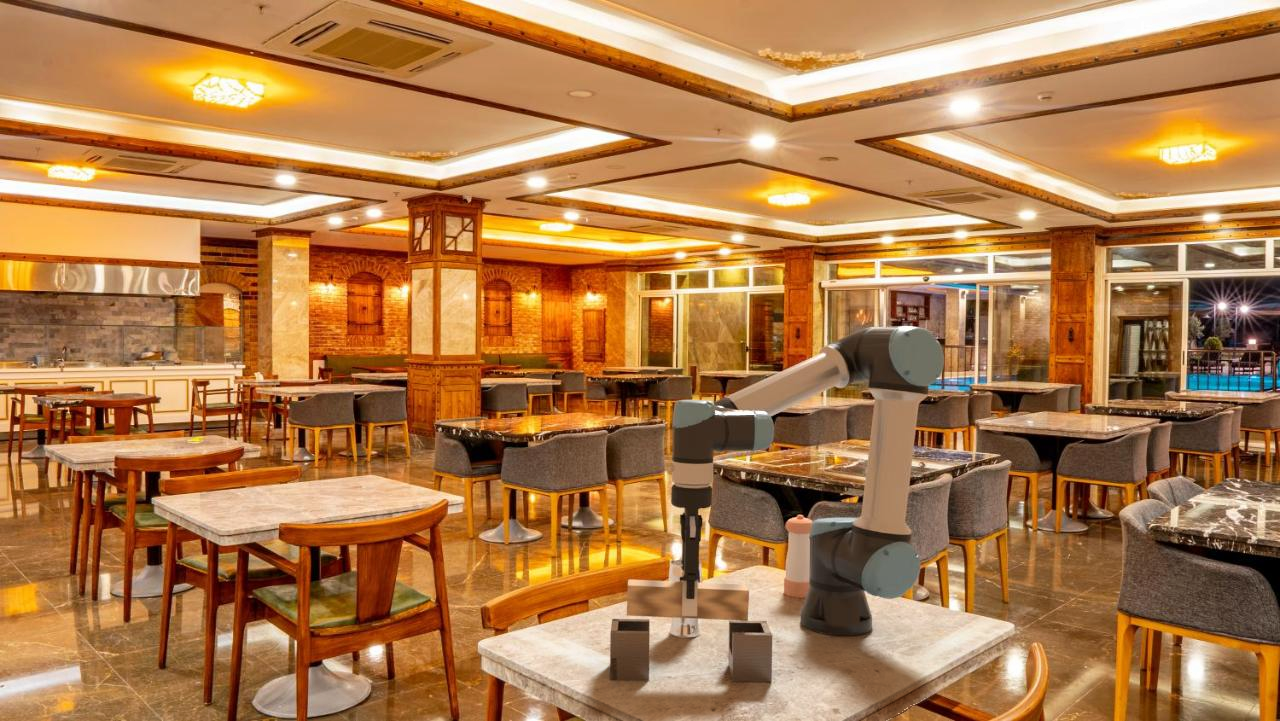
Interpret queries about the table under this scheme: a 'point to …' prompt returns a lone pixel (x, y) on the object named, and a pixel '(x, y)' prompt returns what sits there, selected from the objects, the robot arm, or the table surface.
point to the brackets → (745, 650)
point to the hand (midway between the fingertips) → (688, 611)
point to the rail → (668, 600)
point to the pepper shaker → (798, 557)
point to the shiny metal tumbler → (683, 625)
